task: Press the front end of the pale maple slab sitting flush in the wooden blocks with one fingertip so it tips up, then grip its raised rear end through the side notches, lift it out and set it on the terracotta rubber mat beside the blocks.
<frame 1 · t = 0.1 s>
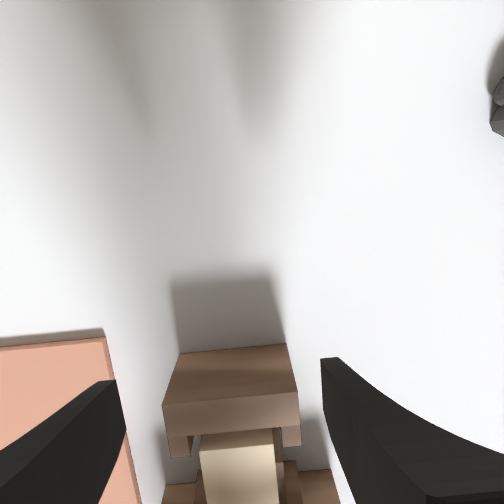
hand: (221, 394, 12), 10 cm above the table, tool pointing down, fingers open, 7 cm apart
slab: (242, 469, 21), point 3 cm above the table, touching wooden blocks
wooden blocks: (242, 430, 24), on the table
mat: (42, 449, 24), on the table
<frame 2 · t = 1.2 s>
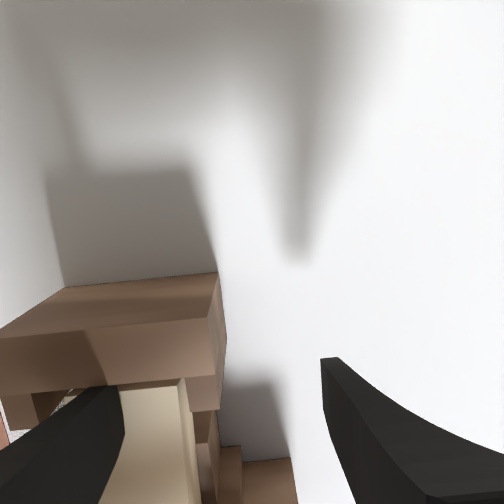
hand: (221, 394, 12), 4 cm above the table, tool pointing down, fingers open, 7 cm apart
slab: (147, 457, 14), point 3 cm above the table, tilted 13°, touching gripper, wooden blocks
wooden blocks: (163, 401, 17), on the table
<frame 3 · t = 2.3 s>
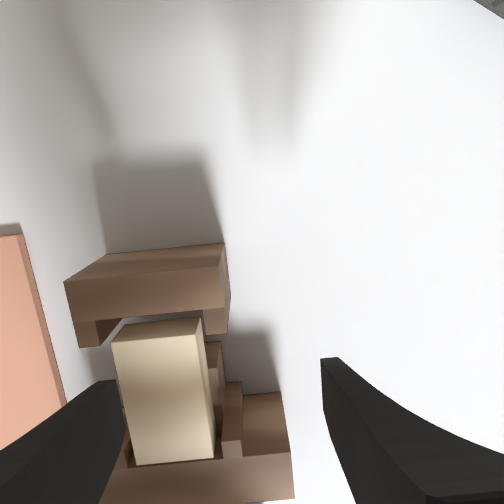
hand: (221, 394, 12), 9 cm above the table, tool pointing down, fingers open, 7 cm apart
slab: (172, 379, 19), point 3 cm above the table, touching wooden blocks
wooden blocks: (181, 345, 22), on the table
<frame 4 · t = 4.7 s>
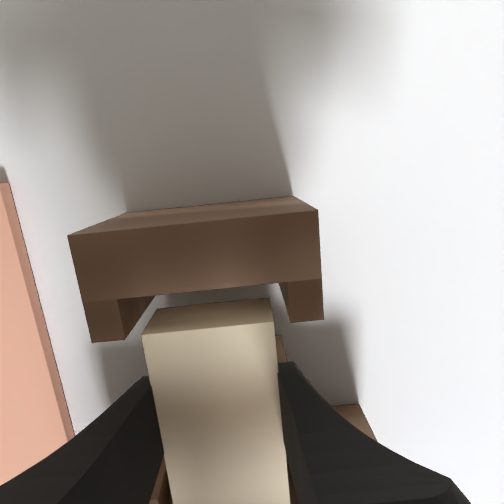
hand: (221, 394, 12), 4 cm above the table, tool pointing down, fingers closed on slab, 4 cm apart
slab: (224, 389, 13), point 3 cm above the table, touching gripper, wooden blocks
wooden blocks: (227, 341, 16), on the table
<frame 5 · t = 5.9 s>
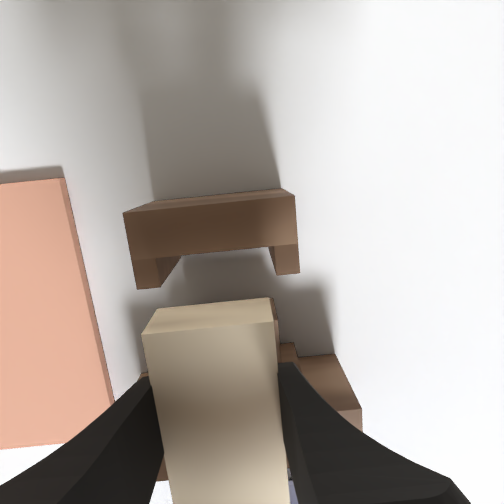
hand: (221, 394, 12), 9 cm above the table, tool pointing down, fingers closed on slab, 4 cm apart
slab: (224, 388, 13), point 8 cm above the table, touching gripper
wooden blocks: (230, 302, 20), on the table
when the fingers open (6 cm above the table, at t = 8.8 s): slab drops 4 cm, resting on mat.
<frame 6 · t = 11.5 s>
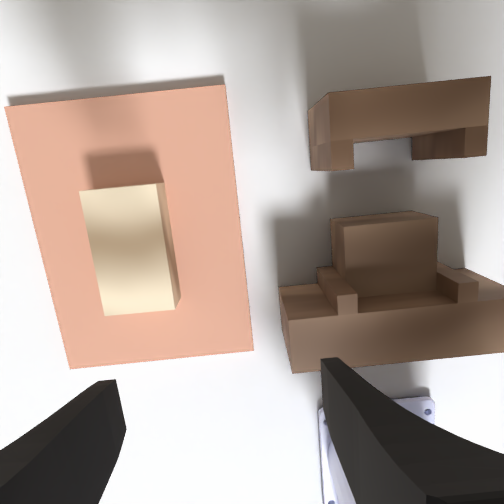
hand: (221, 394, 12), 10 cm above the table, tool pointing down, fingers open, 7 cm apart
slab: (139, 245, 21), point 1 cm above the table, touching mat
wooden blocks: (370, 214, 21), on the table
mat: (143, 237, 21), on the table
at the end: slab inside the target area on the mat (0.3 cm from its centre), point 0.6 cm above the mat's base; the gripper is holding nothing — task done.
